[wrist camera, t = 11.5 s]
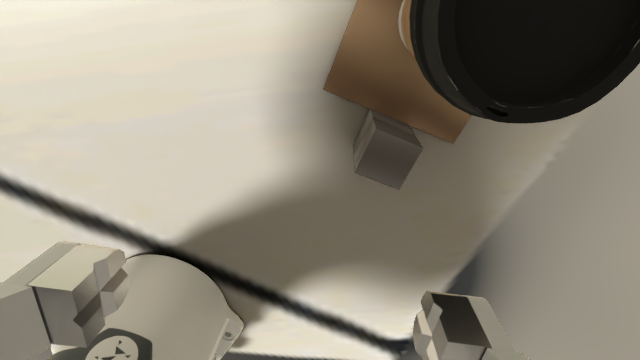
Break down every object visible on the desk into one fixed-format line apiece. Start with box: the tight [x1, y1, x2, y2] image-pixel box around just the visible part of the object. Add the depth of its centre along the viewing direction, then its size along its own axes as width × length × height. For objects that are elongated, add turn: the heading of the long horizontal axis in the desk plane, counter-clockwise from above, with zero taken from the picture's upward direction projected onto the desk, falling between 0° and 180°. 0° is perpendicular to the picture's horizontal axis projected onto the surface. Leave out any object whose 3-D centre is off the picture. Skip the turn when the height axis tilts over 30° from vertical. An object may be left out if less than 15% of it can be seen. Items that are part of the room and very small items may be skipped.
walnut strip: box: [323, 0, 471, 190], centre depth 22 cm, size 20×12×6 cm, turn 159°
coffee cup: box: [398, 0, 640, 123], centre depth 17 cm, size 8×8×15 cm
